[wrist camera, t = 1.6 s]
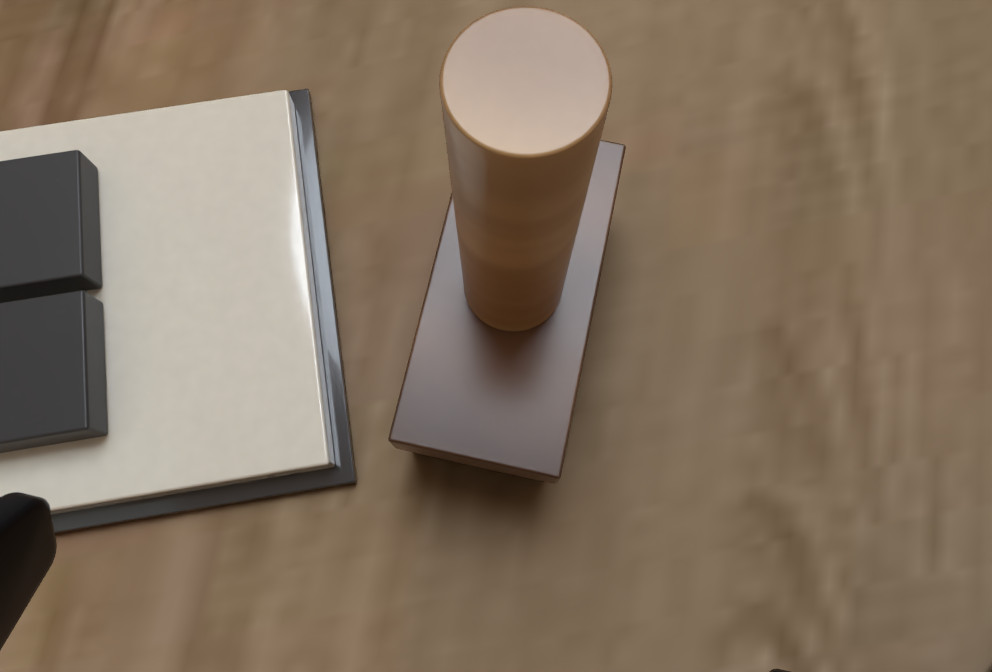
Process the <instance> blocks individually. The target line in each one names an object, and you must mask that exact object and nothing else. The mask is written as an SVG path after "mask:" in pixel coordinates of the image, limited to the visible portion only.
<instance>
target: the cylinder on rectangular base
mask: <svg viewBox="0 0 992 672" xmlns="http://www.w3.org/2000/svg"><path fill="white" fill-rule="evenodd" d="M439 86H440V95H441V104H442V112H443V120H444V128H445V137H446V145H447V153H448V161H449V170H450V178H451V186H452V193H451V197H450V201H449V205H448V209H447V213H446V217H445V221H444V225H443V228H442V232H441V236H440V240H439V244H438V248H437V252H436V256H435V259H434V263H433V267H432V271H431V275H430V279H429V283H428V287H427V291H426V294H425V298H424V302H423V306H422V310H421V314H420V318H419V322H418V326H417V329H416V333H415V337H414V341H413V345H412V349H411V353H410V357H409V360H408V364H407V368H406V372H405V376H404V380H403V384H402V388H401V392H400V395H399V399H398V403H397V407H396V411H395V415H394V419H393V423H392V427H391V430H390V434H389V438H388V439H389V441H390V442H391V443H392V445H393V446H394V447H395V448H397V449H402V450H406V451H411V452H413V453H417V454H421V455H426V456H430V457H435V458H439V459H444V460H448V461H453V462H457V463H462V464H466V465H470V466H475V467H479V468H484V469H488V470H493V471H497V472H502V473H506V474H511V475H515V476H520V477H524V478H529V479H533V480H538V481H542V482H544V481H545V482H550V483H556V482H557V481H558V480H559V478H560V477H561V472H562V467H563V462H564V457H565V452H566V447H567V442H568V437H569V432H570V427H571V422H572V417H573V412H574V406H575V401H576V396H577V391H578V386H579V381H580V376H581V371H582V366H583V361H584V356H585V351H586V346H587V341H588V336H589V330H590V325H591V320H592V315H593V310H594V305H595V300H596V295H597V290H598V285H599V280H600V275H601V270H602V265H603V260H604V254H605V249H606V244H607V239H608V234H609V229H610V224H611V219H612V214H613V209H614V204H615V199H616V194H617V189H618V184H619V179H620V173H621V168H622V163H623V158H624V153H625V148H626V147H625V145H623V144H618V143H613V142H608V141H603V140H600V139H601V135H602V131H603V127H604V123H605V119H606V115H607V111H608V107H609V104H610V100H611V94H612V75H611V69H610V65H609V62H608V59H607V57H606V55H605V53H604V51H603V49H602V47H601V46H600V44H599V43H598V41H597V40H596V39H595V37H594V36H593V35H592V34H591V33H590V32H589V31H588V30H587V29H586V28H585V27H583V26H582V25H581V24H579V23H578V22H576V21H575V20H573V19H572V18H570V17H568V16H566V15H564V14H561V13H559V12H556V11H553V10H549V9H545V8H539V7H524V6H521V7H510V8H506V9H501V10H498V11H495V12H492V13H489V14H487V15H485V16H483V17H480V18H479V19H477V20H476V21H474V22H472V23H471V24H470V25H469V26H467V27H466V28H465V29H464V30H463V31H462V32H461V33H460V34H459V35H458V36H457V37H456V38H455V40H454V41H453V43H452V44H451V45H450V47H449V49H448V51H447V53H446V55H445V57H444V60H443V63H442V66H441V71H440V82H439Z"/></svg>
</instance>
